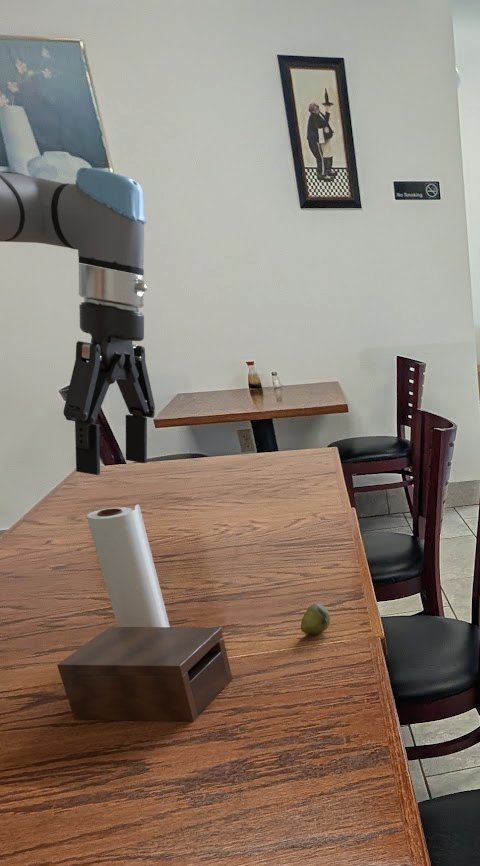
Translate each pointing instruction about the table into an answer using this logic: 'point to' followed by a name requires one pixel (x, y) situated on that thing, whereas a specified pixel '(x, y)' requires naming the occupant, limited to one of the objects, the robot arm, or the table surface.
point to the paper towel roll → (128, 567)
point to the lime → (315, 620)
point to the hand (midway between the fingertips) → (113, 467)
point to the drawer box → (146, 673)
